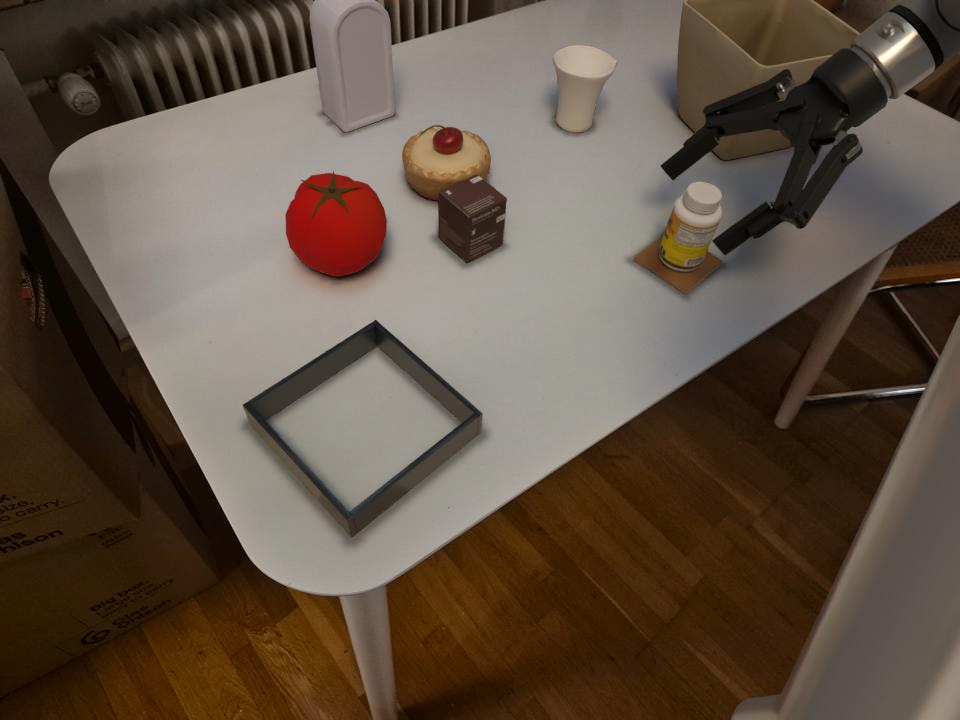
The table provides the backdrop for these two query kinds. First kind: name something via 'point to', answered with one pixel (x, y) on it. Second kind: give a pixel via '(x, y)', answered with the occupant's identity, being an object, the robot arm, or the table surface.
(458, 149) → the pastry
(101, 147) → the table surface
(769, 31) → the flower pot
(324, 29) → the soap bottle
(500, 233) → the box
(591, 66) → the cup
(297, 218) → the tomato
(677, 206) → the supplement bottle
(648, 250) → the coaster
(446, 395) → the dark grey square frame
